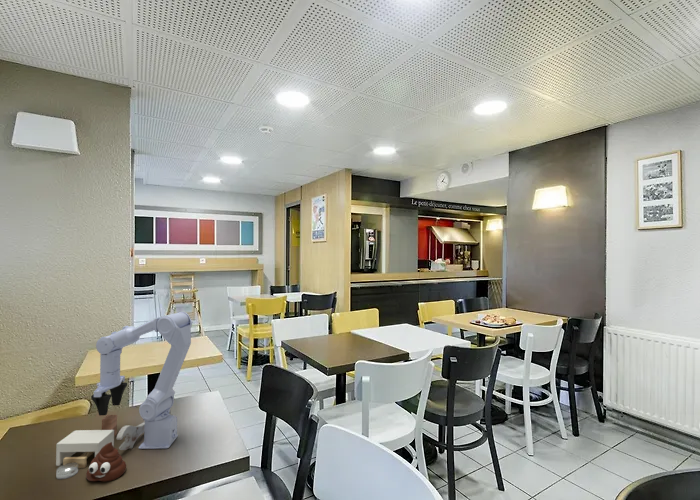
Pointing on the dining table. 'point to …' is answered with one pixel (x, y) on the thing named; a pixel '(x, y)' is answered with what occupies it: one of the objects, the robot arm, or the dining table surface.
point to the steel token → (67, 470)
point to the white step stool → (83, 443)
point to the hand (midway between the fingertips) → (109, 409)
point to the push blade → (107, 424)
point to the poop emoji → (106, 465)
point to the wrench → (130, 435)
